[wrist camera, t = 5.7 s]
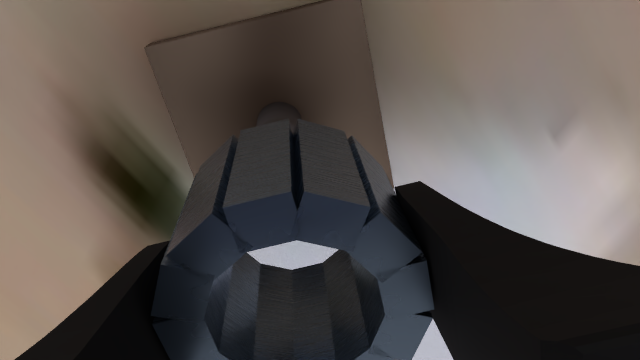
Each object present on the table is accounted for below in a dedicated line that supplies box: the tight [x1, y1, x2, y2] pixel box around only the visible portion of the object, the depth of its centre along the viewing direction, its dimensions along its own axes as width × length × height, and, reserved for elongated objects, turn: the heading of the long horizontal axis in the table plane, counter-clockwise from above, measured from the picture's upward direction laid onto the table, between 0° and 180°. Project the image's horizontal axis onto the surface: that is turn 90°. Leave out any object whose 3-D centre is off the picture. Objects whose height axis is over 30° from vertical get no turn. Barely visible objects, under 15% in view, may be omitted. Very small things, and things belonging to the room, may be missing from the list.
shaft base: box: [144, 0, 394, 188], centre depth 17 cm, size 8×8×5 cm
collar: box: [151, 119, 434, 360], centre depth 11 cm, size 6×6×4 cm
